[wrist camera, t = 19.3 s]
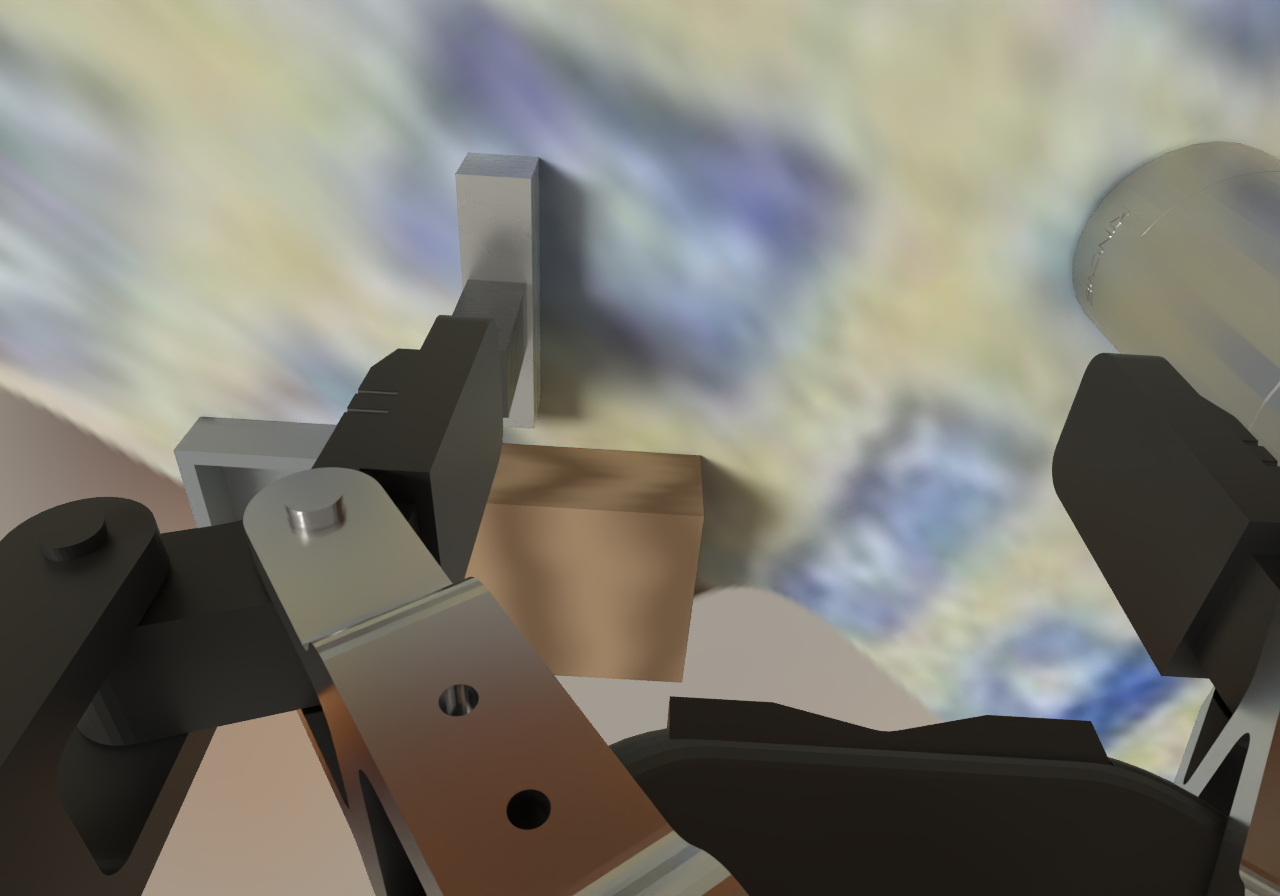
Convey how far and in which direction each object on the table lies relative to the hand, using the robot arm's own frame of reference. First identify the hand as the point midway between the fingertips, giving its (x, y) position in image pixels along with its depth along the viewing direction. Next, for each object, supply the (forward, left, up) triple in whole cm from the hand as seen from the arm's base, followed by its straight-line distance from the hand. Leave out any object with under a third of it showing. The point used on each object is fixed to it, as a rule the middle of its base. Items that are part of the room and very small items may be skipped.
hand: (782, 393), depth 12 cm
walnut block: (+6, +26, -27) cm, 38 cm away
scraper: (+8, +11, -27) cm, 30 cm away
